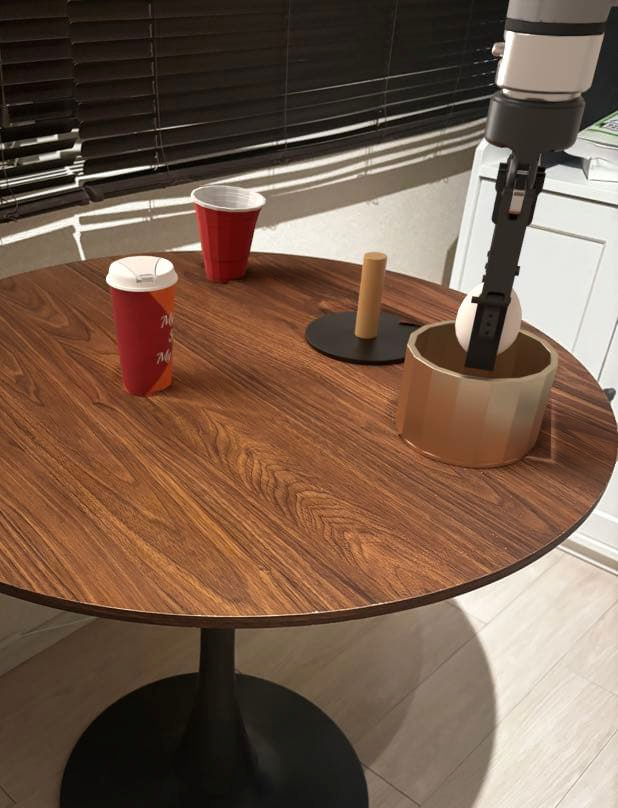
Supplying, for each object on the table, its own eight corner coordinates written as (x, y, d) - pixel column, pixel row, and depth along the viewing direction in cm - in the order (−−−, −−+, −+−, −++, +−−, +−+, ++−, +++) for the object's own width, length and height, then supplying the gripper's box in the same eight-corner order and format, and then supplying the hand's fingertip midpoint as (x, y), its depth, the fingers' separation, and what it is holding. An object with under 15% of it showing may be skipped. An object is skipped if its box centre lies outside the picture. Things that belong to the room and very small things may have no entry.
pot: (535, 411, 90) (558, 330, 84) (532, 479, 79) (558, 391, 73) (405, 391, 94) (418, 312, 88) (385, 453, 83) (399, 368, 77)
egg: (473, 338, 84) (489, 265, 80) (524, 357, 81) (543, 282, 76) (437, 353, 81) (451, 279, 77) (487, 375, 78) (505, 297, 73)
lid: (432, 328, 108) (447, 242, 101) (417, 377, 96) (433, 285, 90) (319, 313, 112) (326, 230, 105) (291, 359, 100) (298, 269, 93)
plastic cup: (251, 293, 117) (254, 207, 110) (181, 284, 120) (179, 200, 113) (271, 269, 125) (275, 187, 118) (205, 261, 128) (205, 181, 121)
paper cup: (186, 397, 92) (184, 275, 84) (119, 404, 91) (110, 281, 82) (173, 367, 98) (170, 251, 90) (110, 373, 97) (100, 256, 88)
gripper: (498, 72, 75) (451, 313, 89) (484, 109, 60) (432, 389, 75) (584, 77, 73) (523, 322, 87) (591, 116, 59) (516, 402, 73)
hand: (481, 352), depth 81 cm, fingers closed on egg, 6 cm apart
